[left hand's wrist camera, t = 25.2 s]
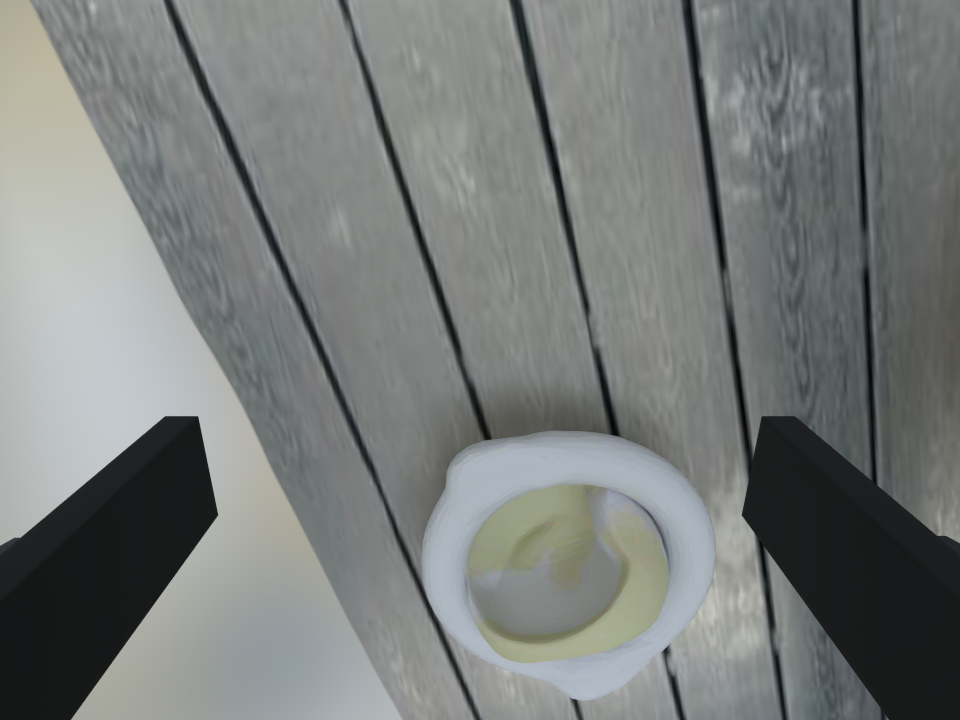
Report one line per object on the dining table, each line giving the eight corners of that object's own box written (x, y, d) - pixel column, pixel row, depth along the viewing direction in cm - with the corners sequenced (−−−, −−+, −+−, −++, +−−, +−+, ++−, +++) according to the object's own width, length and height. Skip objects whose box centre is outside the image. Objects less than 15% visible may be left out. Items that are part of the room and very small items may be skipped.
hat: (712, 566, 51) (801, 724, 37) (494, 637, 54) (499, 808, 40) (629, 332, 43) (701, 421, 29) (378, 432, 46) (334, 556, 32)
